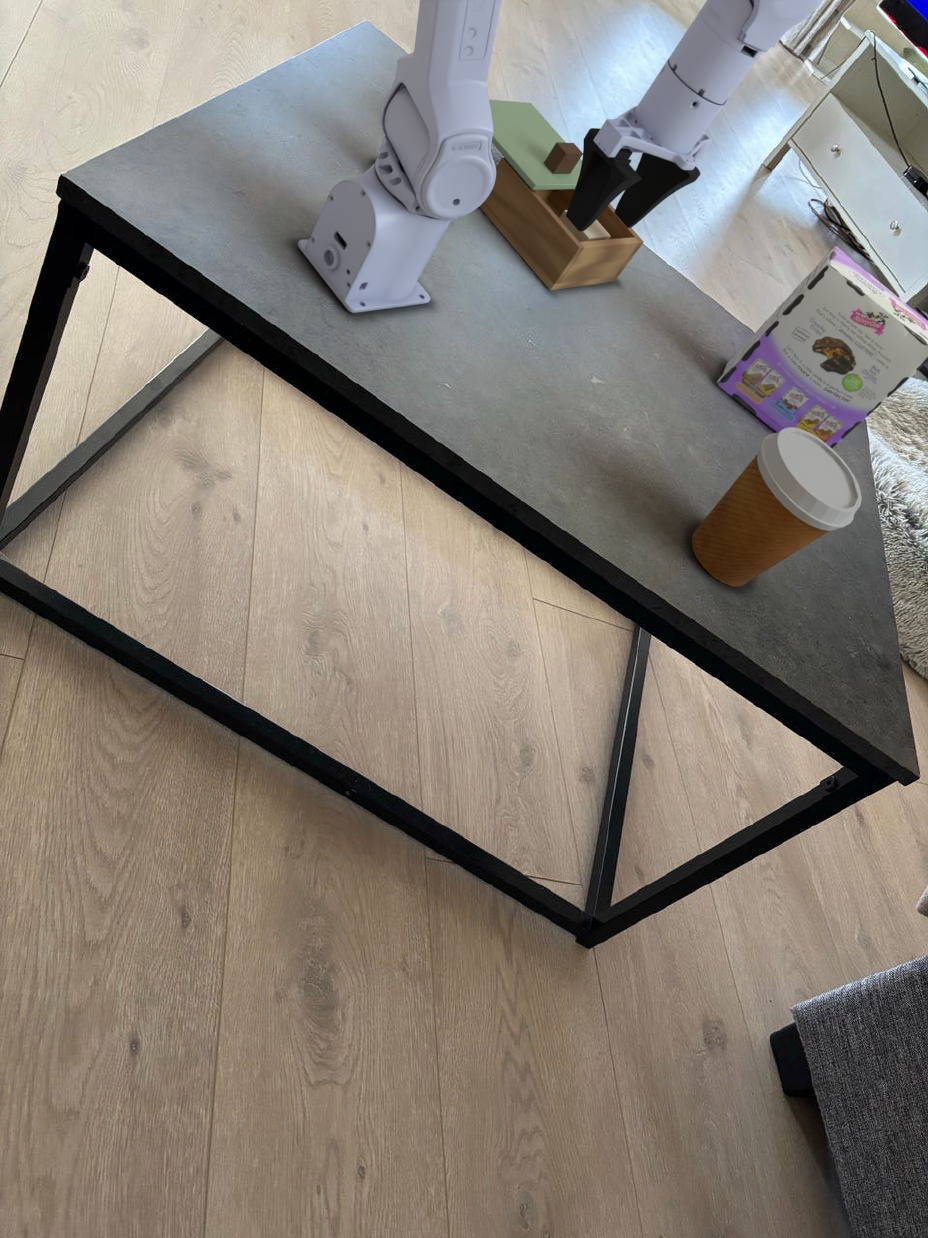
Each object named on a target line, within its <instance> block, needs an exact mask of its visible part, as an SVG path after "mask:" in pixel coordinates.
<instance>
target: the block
mask: <svg viewBox="0 0 928 1238" xmlns="http://www.w3.org/2000/svg"><path fill="white" fill-rule="evenodd" d="M566 213H567V210H564V212H563V213H562V215H561V216H560V218H559V219H560V220H561V221H562V223H563V224H564V225H565V226H566V227H567V228H568V229H569V231H570V232H571V233H572V234H573V235H574V236H575V238H576V239H577V240H578V241H579V242H584V241H596V240H608V239H609V238H610V237H611V235H610V234H609V233H608V232H607V231H606V230H605V229H604V228H603V226H602V225H601V224H600V223H599V222H598V221H597V220H595V221H594V223H593V224H592V225H591V226H590V227H588V228H587V229H586V230H585V231H578V230H577V228H576V227H575V226H574V225H573V224H572V223H571V221H570V220H569V219H568V218H567V217H566Z"/></svg>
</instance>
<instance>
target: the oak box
mask: <svg viewBox="0 0 928 1238" xmlns="http://www.w3.org/2000/svg"><path fill="white" fill-rule="evenodd" d="M495 166H496V180H495V184H494V186H493V189H492V191H491V193H490V194H489V196H488V197H487V199H486V200H485V201H484V202H483V203H482V204H481V205H480V206H479V207H478V208H479V209H481V210H482V212H483V213H484V214H485V215H486V216H487V218H488V219H489V220H490V221H491V222H492V224H493V225H494V226H495V227H496V228H497V229H498V231H499V232H500V233H501V234H502V236H504V238H505V239H506V240H507V241H508V243H509V244H510V245H511V246H512V247H513V249H514V250H515V251H516V252H517V253H518V255H520V257H521V258H522V259H523V260H524V262H525V263H526V264H527V265H528V266H529V268H530V269H531V270H532V271H533V273H534V274H535V275H536V276H537V277H538V278H539V279H540V280H541V282H542V283H543V284H544V285H545V287H546V288H547V289H548V290H549V291H556V290H563V289H564V290H565V289H570V288H577V287H587V286H592V285H599V284H607V283H614V282H616V280H617V279H618V278H619V276H620V275H621V274H622V272H623V271H624V270H625V268H626V267H627V266H628V264H629V263H630V262H631V260H632V259H633V258H634V256H635V255H636V253H638V251H639V249H640V248H641V247H642V246H643V244H644V243H645V241H644V240H643V239H642V238H641V237H640V236H639V234H638V233H637V232H636V231H635V230H634V229H633V227H632V228H627V227H626V226H625V224H624V223H623V222H622V221H621V220H620V219H619V218H618V217H617V215H616V214H615V213H614V212H615V209H616V208H615V207H614V206H613V205H612V204H611V203H610V204H609V205H608V206H607V207H606V209H605V210H604V211H603V212H602V213H601V214H600V216H599V217H598V218H597V219H596V220H597V221H598V222H599V223H600V224H601V225H602V226H603V228H604V229H605V230H606V231H607V232H608V233H609V234H610V235H611V237H610V238H609V239H608V240H596V241H584V242H579V241H578V240H577V239H576V238H575V236H574V235H573V234H572V233H571V232H570V231H569V229H568V228H567V227H566V226H565V225H564V224H563V223H562V221H561V220H560V219H559V218H560V216H561V215H562V213H563V212H564V210H568V207H569V204H570V201H571V199H572V196H573V193H574V190H575V189H552V190H532V189H531V187H530V186H529V185H528V184H527V183H526V182H525V180H524V179H523V178H522V177H521V176H520V175H519V174H518V172H517V171H516V170H515V169H514V168H513V167H512V165H511V164H510V163H509V162H508V161H507V160H506V159H505V157H504V156H502V157H500V160H499V161H498V162H497V164H496V165H495Z"/></svg>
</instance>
